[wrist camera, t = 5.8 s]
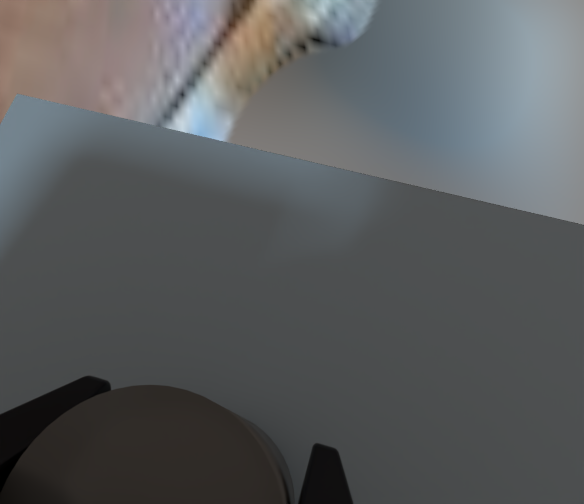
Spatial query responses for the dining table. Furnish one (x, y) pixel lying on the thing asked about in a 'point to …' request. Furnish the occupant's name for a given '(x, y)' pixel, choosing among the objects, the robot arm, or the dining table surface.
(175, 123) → the dining table surface
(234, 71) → the dining table surface
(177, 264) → the lid
